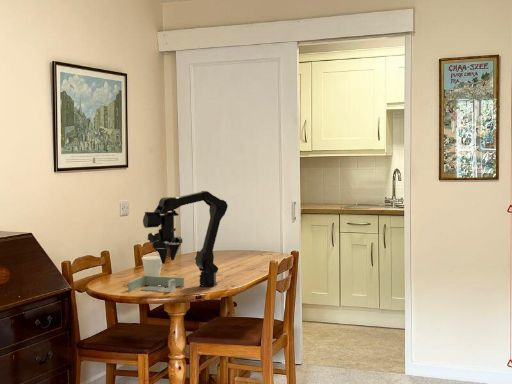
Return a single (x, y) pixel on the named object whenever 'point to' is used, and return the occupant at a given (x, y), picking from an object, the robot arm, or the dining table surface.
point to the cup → (152, 265)
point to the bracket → (169, 287)
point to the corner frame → (154, 281)
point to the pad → (153, 288)
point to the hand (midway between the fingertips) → (168, 262)
